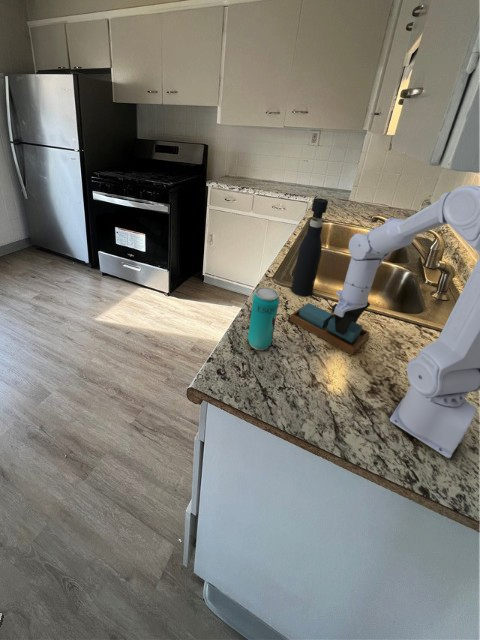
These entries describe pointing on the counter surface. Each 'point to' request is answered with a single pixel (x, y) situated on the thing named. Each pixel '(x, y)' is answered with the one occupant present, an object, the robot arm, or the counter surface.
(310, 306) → the mounted pad
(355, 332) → the loose pad
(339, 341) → the back plate
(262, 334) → the beverage can
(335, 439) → the counter surface
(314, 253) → the black water bottle
